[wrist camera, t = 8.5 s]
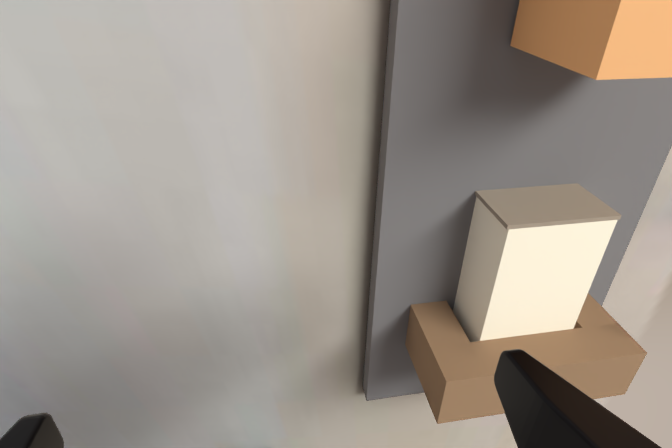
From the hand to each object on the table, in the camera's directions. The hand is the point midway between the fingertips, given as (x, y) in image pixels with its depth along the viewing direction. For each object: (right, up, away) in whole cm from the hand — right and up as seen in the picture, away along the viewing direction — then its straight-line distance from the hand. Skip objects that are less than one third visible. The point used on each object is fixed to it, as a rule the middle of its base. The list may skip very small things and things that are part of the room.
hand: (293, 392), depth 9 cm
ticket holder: (+10, +6, +12) cm, 17 cm away
